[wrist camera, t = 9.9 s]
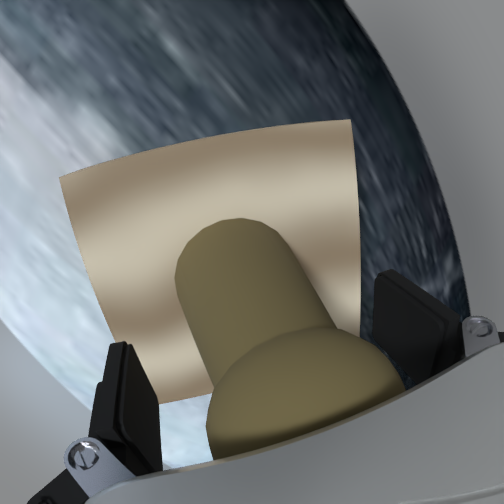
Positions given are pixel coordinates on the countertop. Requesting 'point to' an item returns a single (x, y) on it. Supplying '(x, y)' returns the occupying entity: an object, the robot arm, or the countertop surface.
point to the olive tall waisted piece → (270, 341)
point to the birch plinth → (205, 214)
